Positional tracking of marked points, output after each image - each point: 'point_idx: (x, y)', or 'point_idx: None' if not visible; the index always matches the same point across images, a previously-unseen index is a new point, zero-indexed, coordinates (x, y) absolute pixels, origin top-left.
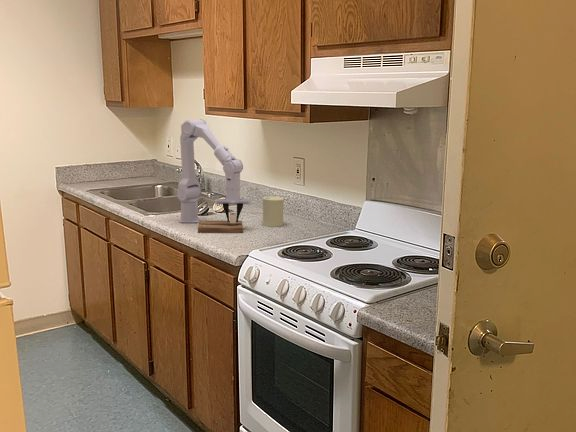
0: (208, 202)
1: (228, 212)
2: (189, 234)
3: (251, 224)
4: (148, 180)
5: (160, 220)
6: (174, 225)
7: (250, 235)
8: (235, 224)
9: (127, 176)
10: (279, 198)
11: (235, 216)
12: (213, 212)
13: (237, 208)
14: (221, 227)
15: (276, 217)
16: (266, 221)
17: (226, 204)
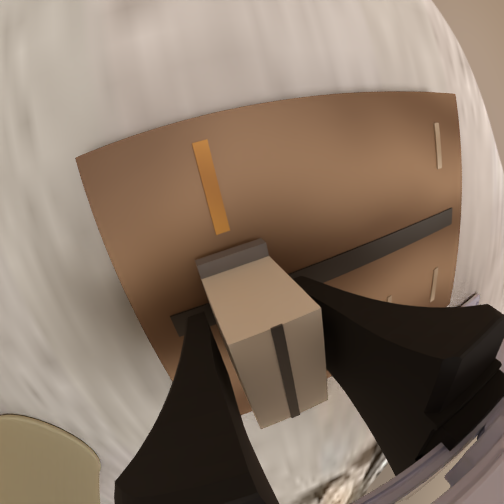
0: (358, 498)
1: (363, 326)
2: (448, 60)
3: (145, 434)
4: (418, 487)
5: (500, 298)
6: (491, 244)
7: (8, 91)
8: (198, 260)
9: (433, 478)
10: None
11: (226, 327)
12: (355, 468)
13: (229, 445)
14: (324, 122)
15: None
16: (40, 446)
17: (469, 411)
